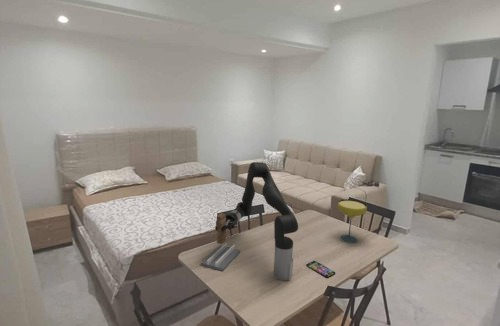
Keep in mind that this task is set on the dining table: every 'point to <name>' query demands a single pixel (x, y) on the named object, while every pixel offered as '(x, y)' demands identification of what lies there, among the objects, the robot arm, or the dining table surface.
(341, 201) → the cocktail glass
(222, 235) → the brown wooden block
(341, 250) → the dining table surface
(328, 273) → the smartphone
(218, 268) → the track plinth
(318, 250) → the dining table surface
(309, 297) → the dining table surface
